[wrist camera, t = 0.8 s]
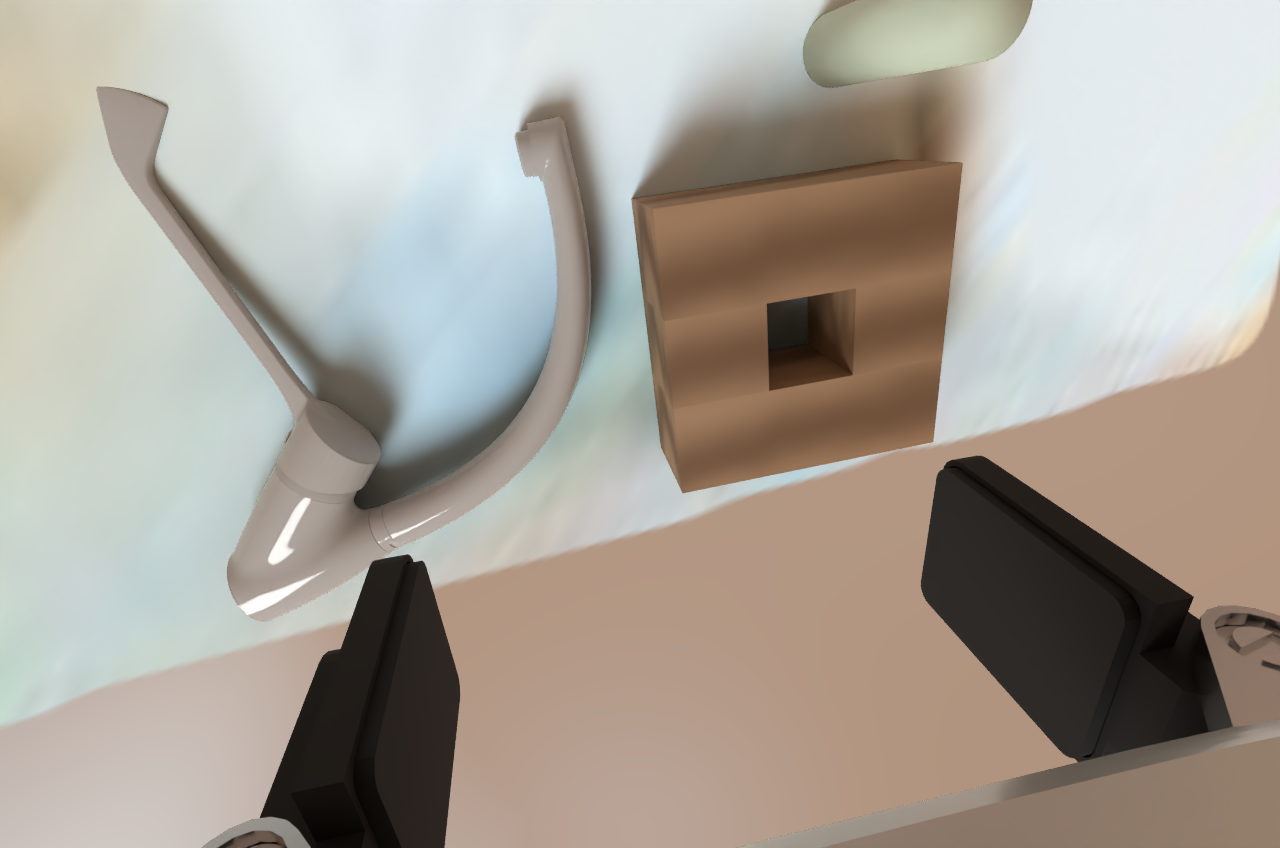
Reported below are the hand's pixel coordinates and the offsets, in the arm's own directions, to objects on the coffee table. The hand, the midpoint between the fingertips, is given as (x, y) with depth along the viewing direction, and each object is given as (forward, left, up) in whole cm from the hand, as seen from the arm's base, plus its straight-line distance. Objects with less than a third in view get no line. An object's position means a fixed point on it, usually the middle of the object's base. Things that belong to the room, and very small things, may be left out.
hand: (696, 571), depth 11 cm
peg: (-10, +16, -27) cm, 33 cm away
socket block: (+4, +12, -27) cm, 30 cm away
